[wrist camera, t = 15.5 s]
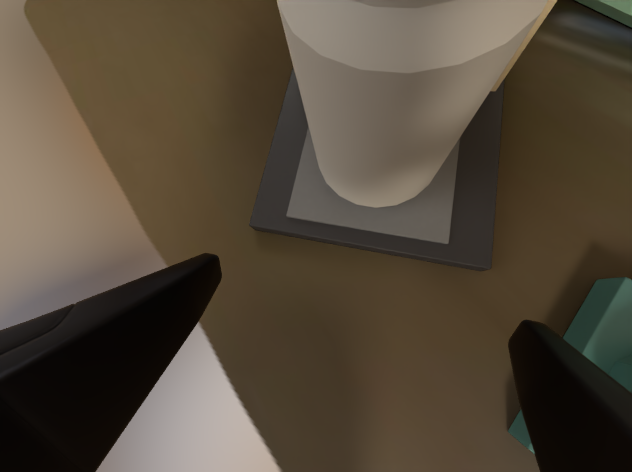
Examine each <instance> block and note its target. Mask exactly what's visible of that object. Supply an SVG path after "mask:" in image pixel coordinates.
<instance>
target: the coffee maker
mask: <svg viewBox="0 0 632 472" xmlns="http://www.w3.org/2000/svg"><path fill="white" fill-rule="evenodd" d="M556 2H557V0H548V1H547V3H546V5H545V7H544V9H543V11H542V13H541V14H540V16H539V17H538V19H537V20H536V22H535V23H534V25H533V26H532V28H531V29H530V31H529V32H528V34H527V36H526V37H525V39H524V40H523V42H522V43H521V45H520V46H519V48H518V49H517V51H516V52H515V54H514V55H513V57H512V58H511V60H510V62H509V63H508V65H507V66H506V68H505V69H504V71H503V72H502V74H501V75H500V77H499V78H498V80H497V81H496V83H495V84H494V86H493V88H492V89H491V91H490V92H489V94H488V95H487V97H486V98H485V100H484V101H483V103H482V104H481V106H480V107H479V109H478V110H477V112H476V114H475V115H474V117H473V118H472V120H471V121H470V123H469V124H468V126H467V127H466V129H465V130H464V132H463V133H462V135H461V136H460V138H459V140H458V141H457V143H456V144H455V146H454V147H453V149H452V150H451V152H450V153H449V155H448V156H447V158H446V159H445V161H444V162H443V164H442V166H441V167H440V169H439V170H438V172H437V173H436V175H435V176H434V178H433V179H432V181H431V182H430V184H429V185H428V186H427V187H426V188H424V189H423V190H422V191H421V192H420V193H419V194H418V195H417V196H415V197H414V198H411V199H409V200H407V201H405V202H402V203H400V204H398V205H394V206H386V207H378V208H374V207H369V206H363V205H357V204H354V203H352V202H350V201H348V200H346V199H344V198H342V197H341V196H339V195H338V194H337V193H336V192H335V191H334V190H333V189H332V188H331V187H330V186H329V185H328V184H327V183H326V181H325V179H324V177H323V175H322V173H321V171H320V169H319V165H318V161H317V157H316V153H315V149H314V145H313V141H312V138H311V134H310V130H309V126H308V122H307V118H306V114H305V110H304V106H303V102H302V98H301V94H300V90H299V86H298V82H297V78H296V74H295V70H294V66H293V69H292V73H291V76H290V80H289V83H288V87H287V91H286V94H285V98H284V101H283V105H282V109H281V112H280V116H279V119H278V123H277V126H276V130H275V134H274V137H273V141H272V144H271V148H270V152H269V155H268V159H267V162H266V166H265V170H264V173H263V177H262V180H261V184H260V187H259V191H258V195H257V198H256V202H255V205H254V209H253V213H252V216H251V220H250V223H249V226H251V227H252V228H253V229H255V230H258V231H264V232H269V233H275V234H280V235H286V236H291V237H297V238H302V239H308V240H313V241H319V242H324V243H330V244H335V245H341V246H346V247H351V248H357V249H362V250H368V251H373V252H379V253H384V254H390V255H395V256H401V257H406V258H412V259H417V260H423V261H428V262H434V263H439V264H444V265H450V266H455V267H461V268H466V269H472V270H477V271H484V270H488V269H491V263H492V249H493V234H494V220H495V206H496V192H497V178H498V164H499V149H500V135H501V121H502V107H503V93H504V79H505V77H506V75H507V74H508V72H509V71H510V69H511V68H512V66H513V65H514V63H515V62H516V60H517V59H518V58H519V56H520V55H521V53H522V52H523V50H524V49H525V47H526V46H527V44H528V43H529V41H530V40H531V38H532V37H533V36H534V34H535V33H536V31H537V30H538V28H539V27H540V25H541V24H542V22H543V21H544V19H545V18H546V16H547V15H548V14H549V12H550V11H551V9H552V8H553V6H554V5H555V3H556ZM277 4H278V0H277ZM278 8H279V7H278ZM279 12H280V11H279ZM280 16H281V14H280ZM281 20H282V18H281ZM282 23H283V22H282ZM283 27H284V26H283ZM284 31H285V30H284ZM285 35H286V34H285ZM286 39H287V38H286ZM287 43H288V42H287ZM288 47H289V46H288ZM289 51H290V50H289ZM290 55H291V54H290ZM291 59H292V58H291ZM292 63H293V62H292Z"/></svg>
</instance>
